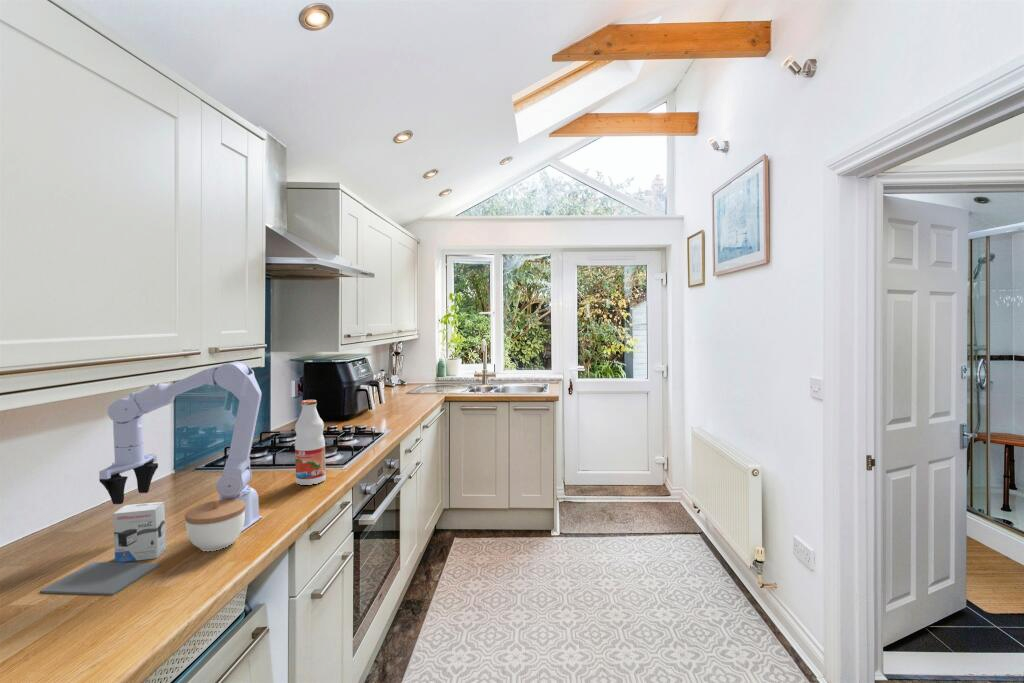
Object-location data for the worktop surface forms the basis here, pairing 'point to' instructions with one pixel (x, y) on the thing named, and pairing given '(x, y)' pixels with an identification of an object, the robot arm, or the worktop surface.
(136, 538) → the ink box
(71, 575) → the mat
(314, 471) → the fruit juice
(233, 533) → the lidded bowl
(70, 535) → the worktop surface
